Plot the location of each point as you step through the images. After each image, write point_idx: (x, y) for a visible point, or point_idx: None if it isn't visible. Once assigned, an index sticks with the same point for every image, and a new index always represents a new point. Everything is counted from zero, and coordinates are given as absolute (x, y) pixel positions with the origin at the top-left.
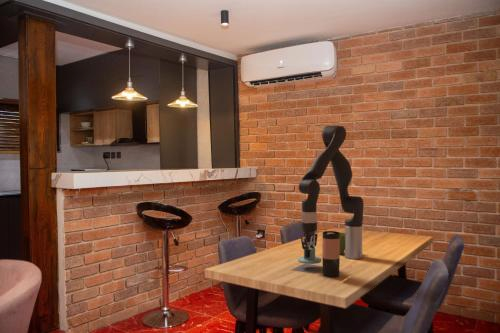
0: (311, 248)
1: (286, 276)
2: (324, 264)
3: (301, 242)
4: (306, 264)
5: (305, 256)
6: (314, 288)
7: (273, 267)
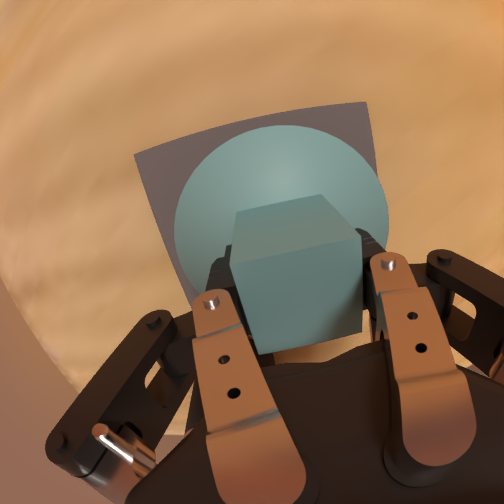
0: (323, 317)
1: (58, 226)
2: (189, 408)
3: (81, 392)
4: (353, 127)
5: (217, 259)
6: (86, 378)
7: (129, 15)
